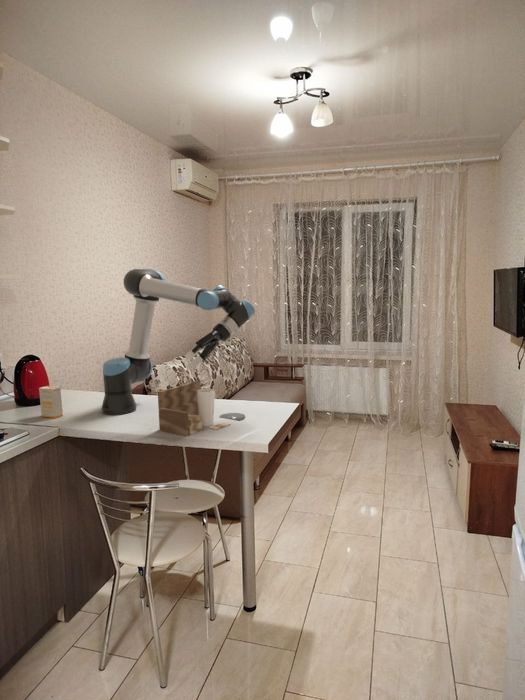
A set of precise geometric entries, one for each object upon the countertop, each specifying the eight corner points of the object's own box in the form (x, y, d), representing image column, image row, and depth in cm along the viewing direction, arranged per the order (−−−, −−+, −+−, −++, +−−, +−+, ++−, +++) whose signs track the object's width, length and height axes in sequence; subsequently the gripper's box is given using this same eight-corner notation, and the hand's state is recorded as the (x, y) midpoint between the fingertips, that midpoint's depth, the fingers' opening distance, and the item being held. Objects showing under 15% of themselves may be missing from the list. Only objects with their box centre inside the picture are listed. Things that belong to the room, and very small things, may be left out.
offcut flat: (223, 427, 191) (222, 422, 190) (230, 428, 188) (230, 424, 188) (209, 432, 184) (208, 427, 184) (216, 434, 182) (216, 429, 182)
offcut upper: (188, 420, 184) (188, 414, 184) (199, 421, 182) (199, 415, 182) (180, 424, 179) (179, 418, 179) (191, 426, 177) (191, 419, 177)
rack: (198, 417, 203) (197, 380, 201) (226, 422, 196) (225, 384, 193) (157, 433, 183) (155, 392, 180) (186, 439, 175) (185, 397, 173)
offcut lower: (190, 427, 186) (190, 419, 185) (202, 429, 182) (202, 422, 182) (178, 432, 180) (177, 424, 179) (190, 434, 176) (190, 426, 176)
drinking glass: (198, 424, 193) (197, 388, 191) (215, 424, 193) (214, 388, 191) (197, 430, 186) (196, 392, 184) (215, 429, 187) (214, 391, 184)
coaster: (218, 415, 207) (218, 413, 206) (243, 413, 208) (243, 412, 208) (219, 422, 196) (219, 420, 196) (246, 420, 197) (246, 419, 197)
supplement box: (63, 415, 209) (61, 386, 208) (54, 418, 205) (52, 389, 203) (50, 413, 213) (47, 385, 211) (41, 416, 209) (38, 387, 207)
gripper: (231, 324, 188) (192, 360, 182) (231, 344, 212) (196, 377, 206) (218, 311, 189) (178, 347, 184) (219, 333, 213) (184, 365, 207)
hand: (188, 363), depth 195 cm, fingers open, 13 cm apart
